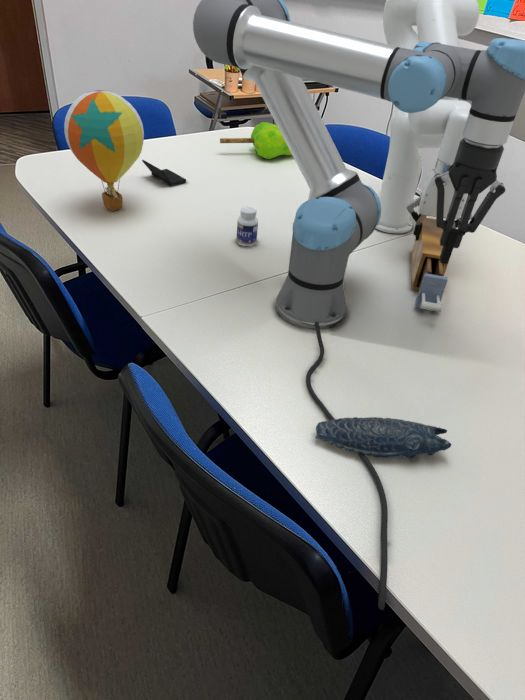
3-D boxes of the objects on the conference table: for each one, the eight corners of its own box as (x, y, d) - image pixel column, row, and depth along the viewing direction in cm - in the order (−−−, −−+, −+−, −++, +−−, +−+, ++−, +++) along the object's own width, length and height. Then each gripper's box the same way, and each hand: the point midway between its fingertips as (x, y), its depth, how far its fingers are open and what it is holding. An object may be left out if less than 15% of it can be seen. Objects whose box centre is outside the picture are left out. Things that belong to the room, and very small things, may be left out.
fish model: (449, 471, 80) (458, 449, 77) (314, 454, 81) (318, 432, 78) (442, 439, 86) (450, 418, 83) (315, 423, 87) (319, 401, 84)
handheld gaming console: (190, 175, 164) (173, 153, 156) (179, 193, 163) (161, 172, 155) (166, 170, 170) (147, 148, 162) (155, 188, 169) (136, 167, 161)
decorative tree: (217, 118, 187) (297, 118, 193) (217, 148, 194) (295, 147, 199) (223, 133, 174) (309, 132, 179) (223, 164, 180) (306, 163, 185)
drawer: (437, 324, 111) (449, 292, 106) (415, 320, 112) (425, 288, 107) (434, 270, 129) (444, 241, 124) (414, 266, 130) (423, 237, 124)
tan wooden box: (437, 294, 122) (450, 257, 116) (411, 290, 123) (422, 252, 116) (434, 255, 137) (445, 220, 131) (411, 251, 138) (421, 216, 131)
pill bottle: (233, 243, 134) (234, 211, 128) (240, 235, 138) (242, 203, 132) (252, 248, 133) (254, 215, 127) (259, 239, 137) (261, 208, 131)
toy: (64, 203, 145) (44, 85, 127) (127, 189, 156) (117, 79, 137) (97, 229, 134) (80, 105, 116) (162, 213, 145) (156, 96, 126)
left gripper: (517, 140, 93) (474, 257, 108) (444, 130, 95) (411, 246, 110) (525, 153, 88) (478, 274, 102) (446, 142, 89) (411, 263, 104)
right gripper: (488, 168, 120) (464, 239, 131) (413, 158, 122) (395, 228, 133) (493, 179, 114) (467, 253, 125) (413, 168, 116) (395, 241, 128)
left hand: (443, 260), depth 106 cm, fingers closed
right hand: (430, 239), depth 129 cm, fingers closed on tan wooden box, 6 cm apart
